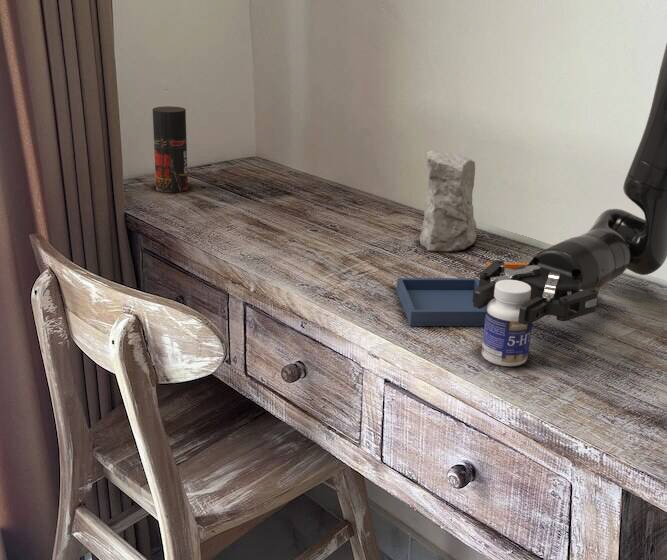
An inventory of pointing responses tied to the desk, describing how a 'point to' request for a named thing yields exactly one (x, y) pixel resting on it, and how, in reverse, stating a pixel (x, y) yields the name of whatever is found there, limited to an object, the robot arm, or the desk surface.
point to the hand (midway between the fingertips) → (499, 307)
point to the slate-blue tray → (440, 301)
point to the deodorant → (170, 149)
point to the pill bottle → (507, 325)
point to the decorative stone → (449, 203)
